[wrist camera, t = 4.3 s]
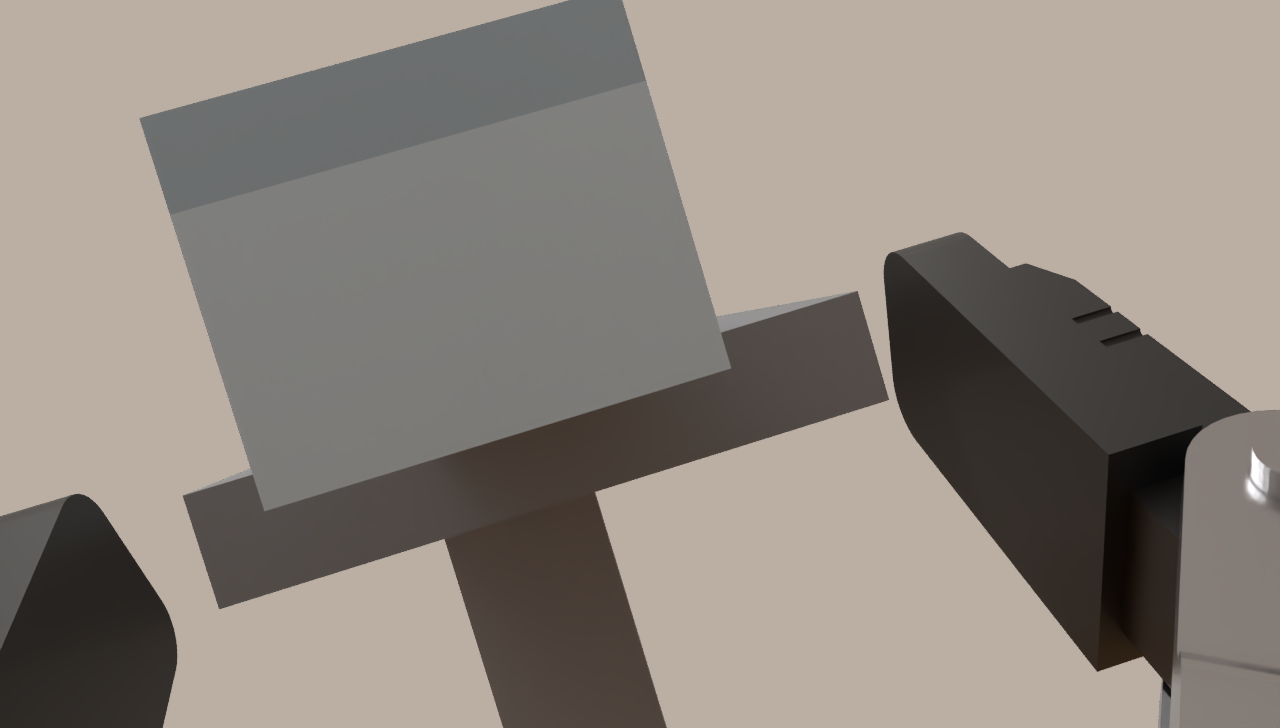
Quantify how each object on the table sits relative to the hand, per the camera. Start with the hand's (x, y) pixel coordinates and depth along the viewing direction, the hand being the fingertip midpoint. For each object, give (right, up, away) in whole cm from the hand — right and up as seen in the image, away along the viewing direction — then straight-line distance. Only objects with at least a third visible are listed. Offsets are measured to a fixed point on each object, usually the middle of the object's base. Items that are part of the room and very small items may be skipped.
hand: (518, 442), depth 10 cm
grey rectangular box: (-1, 0, +10) cm, 10 cm away
